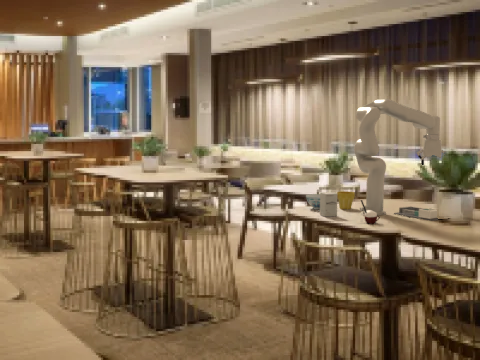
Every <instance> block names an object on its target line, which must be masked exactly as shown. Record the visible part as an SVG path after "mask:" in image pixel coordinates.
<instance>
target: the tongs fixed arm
mask: <svg viewBox="0 0 480 360" xmlns="http://www.w3.org/2000/svg"><path fill="white" fill-rule="evenodd" d="M412 207H413V206H411V205H410V206H403V207H399V209H398V210H399V211H398V213H402V214H408V215H414V216H419V211H413V210H412Z"/></svg>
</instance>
